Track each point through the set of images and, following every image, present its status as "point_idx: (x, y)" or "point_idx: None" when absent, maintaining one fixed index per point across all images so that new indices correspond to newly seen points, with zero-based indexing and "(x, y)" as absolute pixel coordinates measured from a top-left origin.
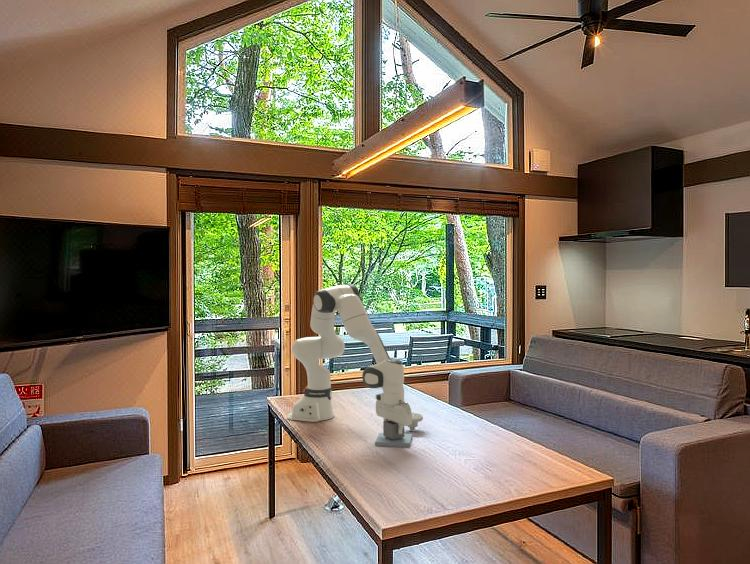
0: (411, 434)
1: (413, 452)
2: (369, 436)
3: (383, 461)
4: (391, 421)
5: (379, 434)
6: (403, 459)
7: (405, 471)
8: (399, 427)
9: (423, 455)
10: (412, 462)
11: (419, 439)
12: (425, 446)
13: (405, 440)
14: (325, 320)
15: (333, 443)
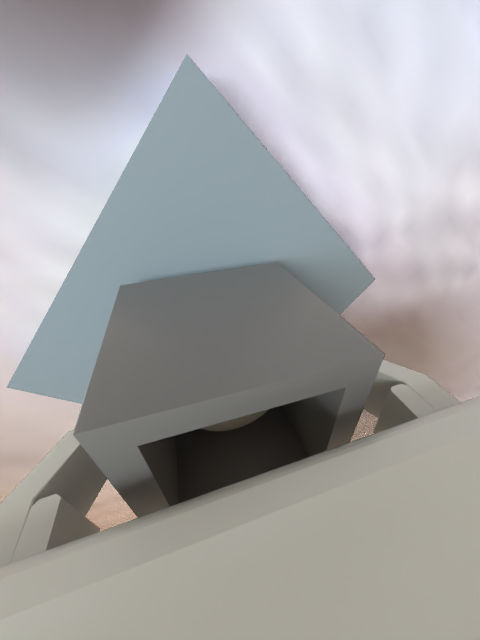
0: (204, 84)
1: (417, 291)
2: (10, 418)
3: (371, 415)
4: (157, 467)
5: (70, 394)
6: (417, 360)
7: (464, 383)
8: (377, 407)
9: (476, 267)
10: (459, 343)
11: (289, 30)
12: (437, 149)
13: (314, 275)
14: None
15: (100, 528)
